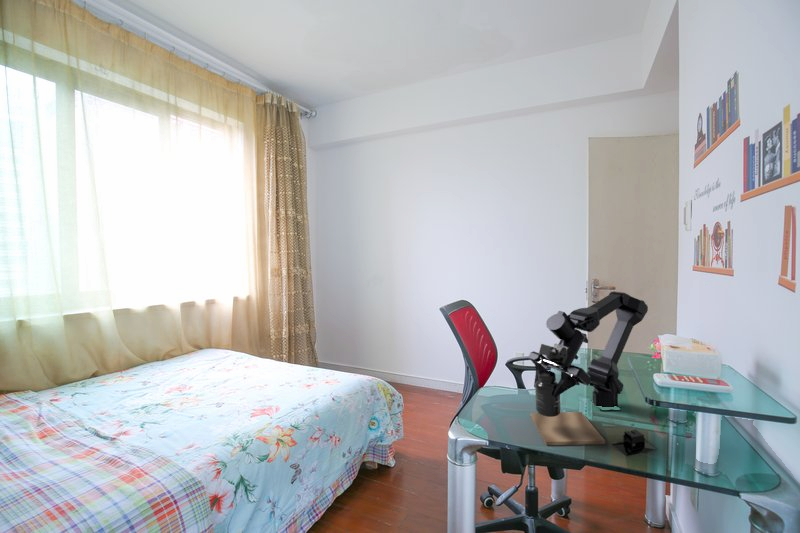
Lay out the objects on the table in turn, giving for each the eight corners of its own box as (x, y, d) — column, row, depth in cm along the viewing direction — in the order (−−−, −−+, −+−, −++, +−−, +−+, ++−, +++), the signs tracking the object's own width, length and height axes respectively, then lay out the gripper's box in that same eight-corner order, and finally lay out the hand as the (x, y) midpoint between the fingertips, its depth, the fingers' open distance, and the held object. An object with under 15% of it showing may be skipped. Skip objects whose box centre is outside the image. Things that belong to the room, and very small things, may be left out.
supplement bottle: (563, 417, 107) (561, 378, 106) (538, 417, 108) (536, 378, 107) (557, 405, 114) (555, 368, 113) (534, 405, 115) (532, 369, 114)
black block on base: (642, 438, 106) (642, 423, 105) (665, 453, 99) (665, 436, 98) (604, 445, 104) (604, 430, 103) (625, 461, 97) (625, 445, 96)
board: (581, 414, 119) (581, 411, 119) (605, 443, 103) (605, 440, 103) (530, 416, 121) (530, 413, 120) (546, 445, 105) (546, 441, 105)
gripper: (530, 326, 118) (506, 369, 115) (582, 341, 102) (555, 391, 98) (549, 344, 123) (526, 385, 119) (601, 361, 106) (577, 409, 103)
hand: (544, 392), depth 110 cm, fingers closed on supplement bottle, 7 cm apart
